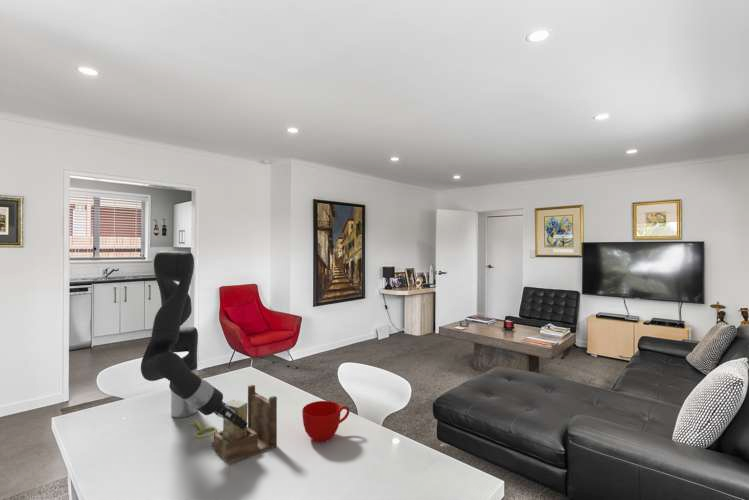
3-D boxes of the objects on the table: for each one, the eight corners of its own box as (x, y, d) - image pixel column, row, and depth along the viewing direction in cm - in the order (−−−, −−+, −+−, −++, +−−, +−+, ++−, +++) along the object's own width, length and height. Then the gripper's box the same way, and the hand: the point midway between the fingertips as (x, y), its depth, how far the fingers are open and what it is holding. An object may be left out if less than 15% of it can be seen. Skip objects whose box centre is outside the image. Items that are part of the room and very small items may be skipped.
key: (196, 424, 141) (196, 418, 141) (219, 432, 135) (219, 426, 135) (178, 433, 134) (178, 427, 134) (202, 441, 128) (202, 435, 128)
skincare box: (222, 442, 122) (222, 404, 122) (232, 436, 126) (232, 399, 126) (238, 446, 119) (238, 407, 119) (247, 440, 123) (247, 402, 123)
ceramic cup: (357, 437, 130) (357, 408, 130) (310, 451, 121) (310, 420, 121) (341, 422, 141) (341, 395, 141) (296, 434, 132) (296, 405, 132)
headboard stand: (209, 445, 125) (209, 396, 125) (253, 429, 136) (253, 384, 136) (232, 466, 113) (232, 412, 113) (278, 446, 124) (278, 397, 124)
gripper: (221, 391, 112) (258, 418, 120) (202, 379, 122) (237, 405, 131) (203, 415, 108) (242, 441, 117) (185, 400, 119) (222, 426, 127)
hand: (239, 422), depth 124 cm, fingers closed on skincare box, 7 cm apart
